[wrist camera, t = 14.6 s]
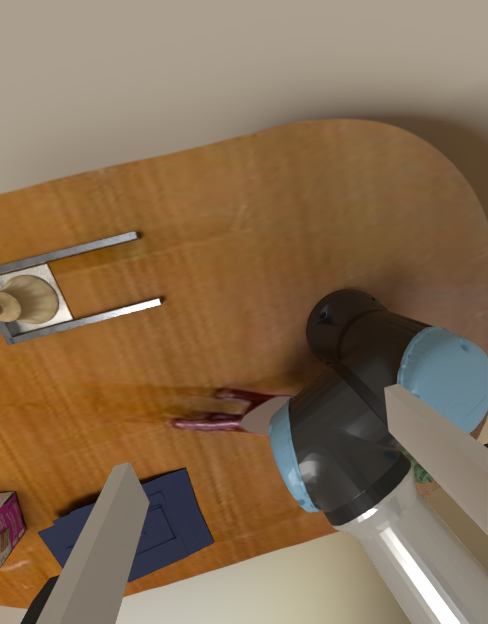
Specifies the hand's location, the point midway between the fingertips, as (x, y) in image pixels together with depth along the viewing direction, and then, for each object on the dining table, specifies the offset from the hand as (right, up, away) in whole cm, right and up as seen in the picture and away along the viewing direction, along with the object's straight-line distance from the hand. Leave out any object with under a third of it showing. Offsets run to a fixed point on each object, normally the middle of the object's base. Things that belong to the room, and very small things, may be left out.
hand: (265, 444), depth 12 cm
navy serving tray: (-25, -42, +41) cm, 64 cm away
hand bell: (-36, +9, +27) cm, 46 cm away
